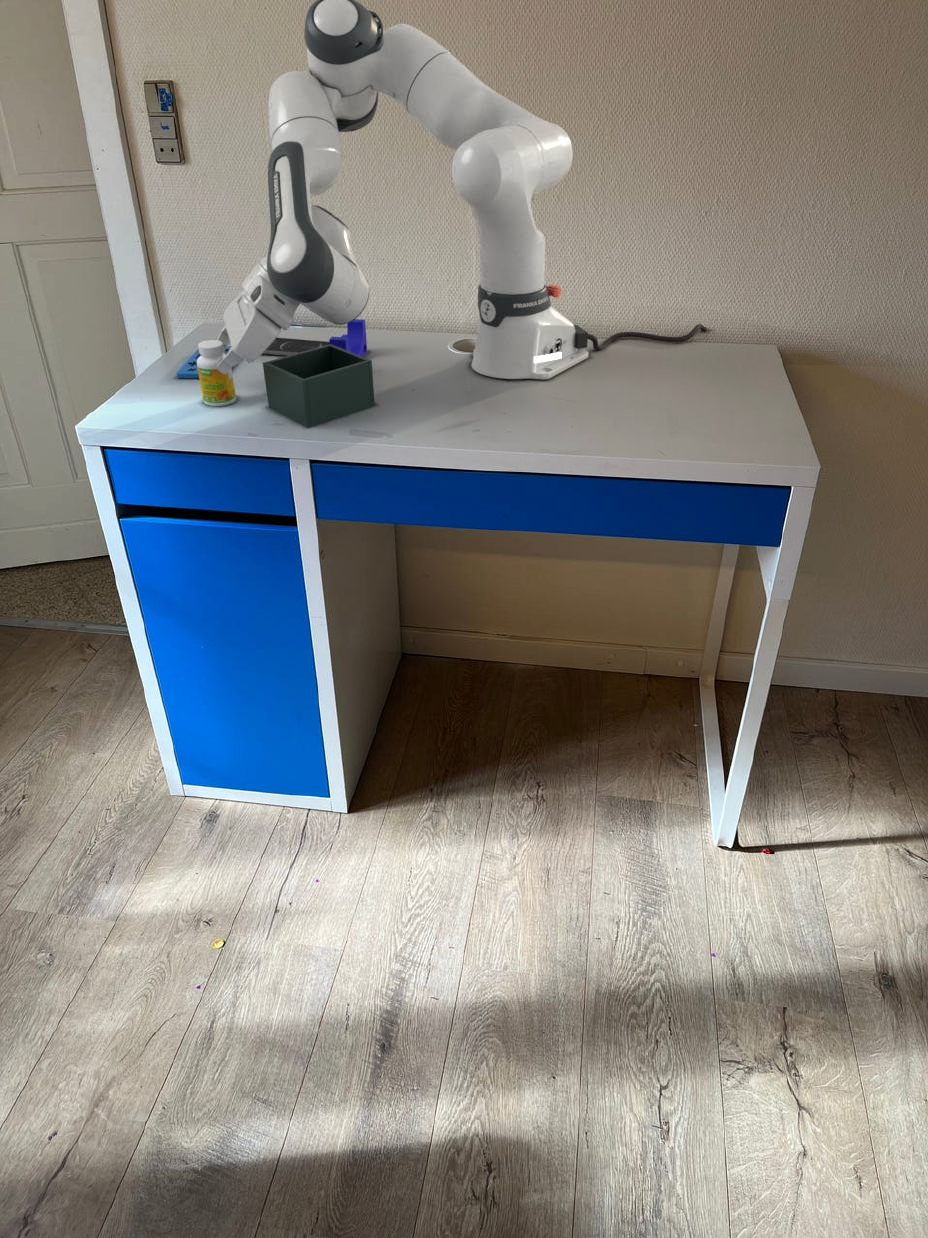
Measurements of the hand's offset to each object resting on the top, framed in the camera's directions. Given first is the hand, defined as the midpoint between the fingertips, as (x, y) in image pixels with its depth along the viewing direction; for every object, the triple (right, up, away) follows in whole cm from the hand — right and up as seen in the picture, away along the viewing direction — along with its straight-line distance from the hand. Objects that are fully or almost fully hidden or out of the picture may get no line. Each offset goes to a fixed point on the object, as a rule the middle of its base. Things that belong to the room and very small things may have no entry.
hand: (217, 361), depth 154 cm
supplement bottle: (0, -6, +3) cm, 7 cm away
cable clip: (+19, +5, +19) cm, 27 cm away
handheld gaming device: (-6, +4, +18) cm, 20 cm away
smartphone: (+9, +9, +24) cm, 27 cm away
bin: (+17, -7, +1) cm, 19 cm away
